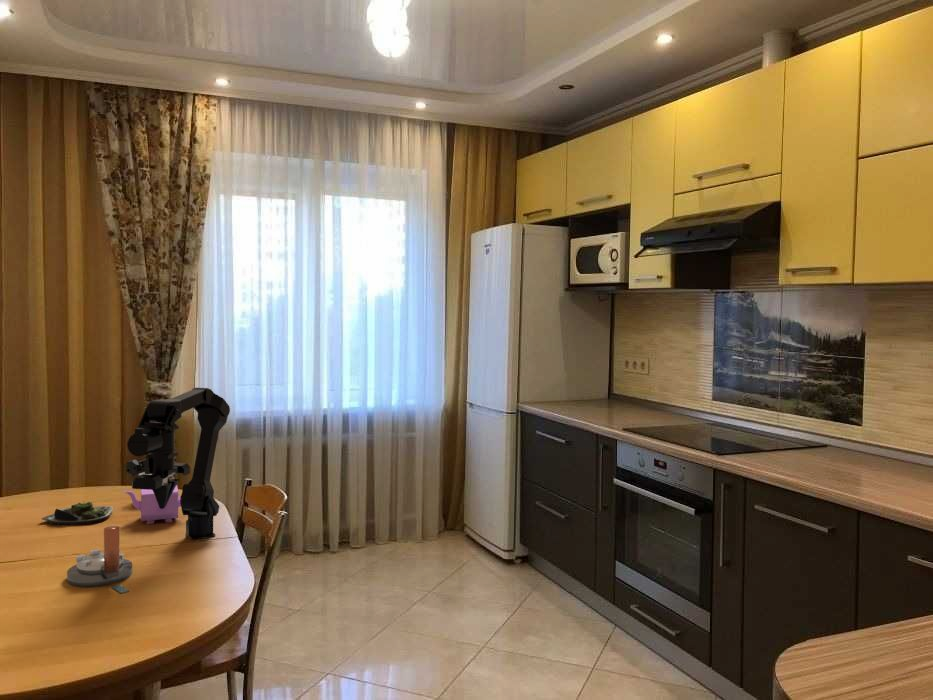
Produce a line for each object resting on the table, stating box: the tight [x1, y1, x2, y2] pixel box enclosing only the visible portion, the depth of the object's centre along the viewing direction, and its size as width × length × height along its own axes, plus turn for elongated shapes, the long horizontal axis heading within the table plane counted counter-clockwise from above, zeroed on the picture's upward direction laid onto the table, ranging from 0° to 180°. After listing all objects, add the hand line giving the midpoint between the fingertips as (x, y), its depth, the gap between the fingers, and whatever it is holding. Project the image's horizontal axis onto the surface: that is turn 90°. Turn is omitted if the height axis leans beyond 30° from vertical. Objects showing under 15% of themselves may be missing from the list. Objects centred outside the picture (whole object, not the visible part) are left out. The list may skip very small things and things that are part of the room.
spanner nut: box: [75, 525, 125, 578], centre depth 169 cm, size 16×10×12 cm, turn 42°
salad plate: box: [41, 501, 114, 526], centre depth 218 cm, size 19×18×5 cm
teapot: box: [123, 485, 181, 525], centre depth 217 cm, size 15×13×11 cm
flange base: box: [66, 558, 133, 594], centre depth 169 cm, size 14×21×2 cm, turn 39°
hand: (162, 508), depth 184 cm, fingers closed
